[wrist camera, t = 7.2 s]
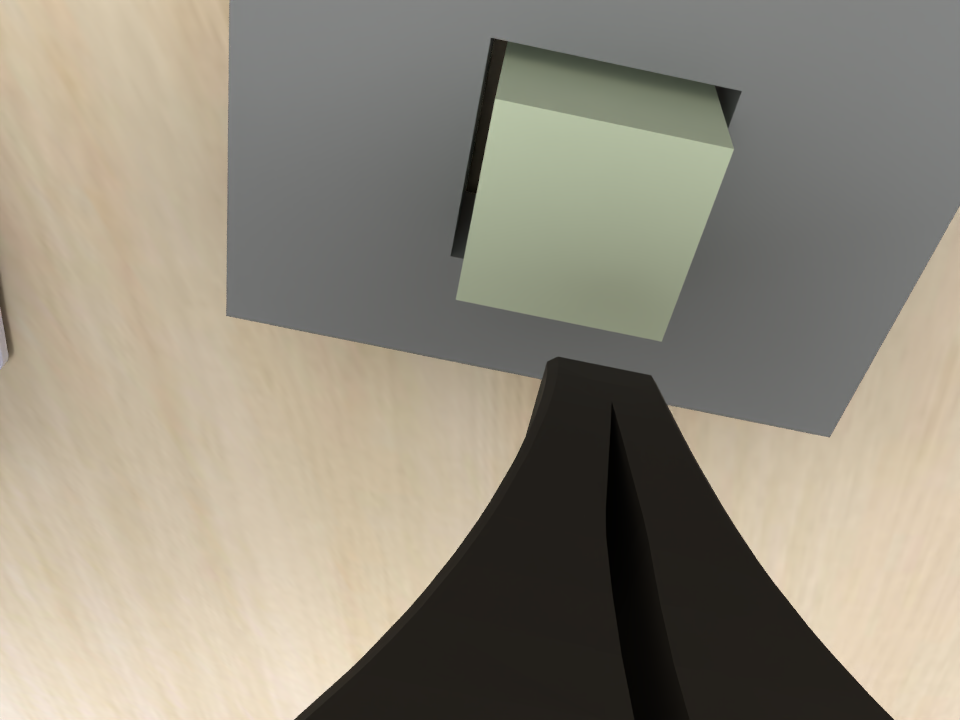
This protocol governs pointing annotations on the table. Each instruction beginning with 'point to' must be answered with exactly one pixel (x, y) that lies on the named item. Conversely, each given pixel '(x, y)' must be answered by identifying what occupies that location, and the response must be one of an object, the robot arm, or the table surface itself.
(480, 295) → the sage button
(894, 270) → the switch panel
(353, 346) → the table surface
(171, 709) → the table surface
